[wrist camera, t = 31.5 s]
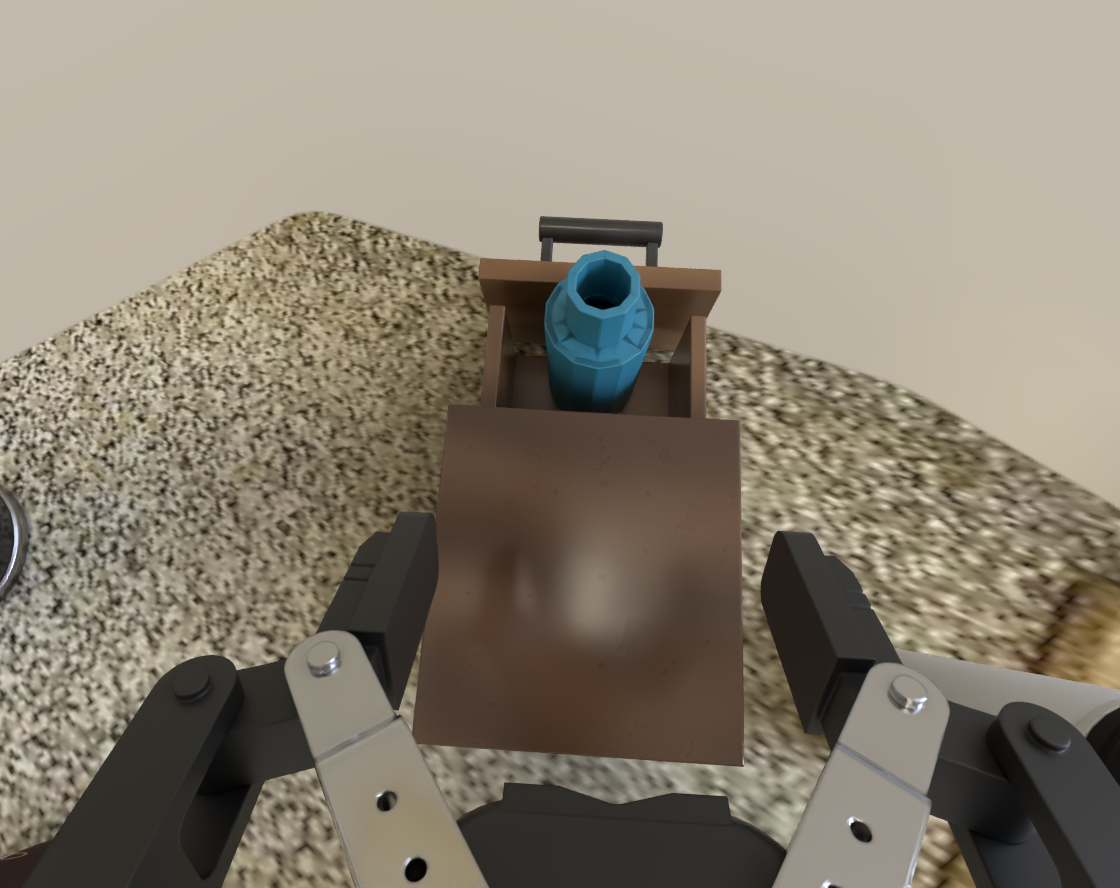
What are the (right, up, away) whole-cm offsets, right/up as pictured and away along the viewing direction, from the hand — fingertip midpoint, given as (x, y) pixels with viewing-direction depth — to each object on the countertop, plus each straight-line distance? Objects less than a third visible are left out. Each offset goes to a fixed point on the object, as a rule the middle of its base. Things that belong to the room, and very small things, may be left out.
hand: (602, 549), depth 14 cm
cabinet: (0, -5, +21) cm, 22 cm away
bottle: (+1, +6, +22) cm, 23 cm away
